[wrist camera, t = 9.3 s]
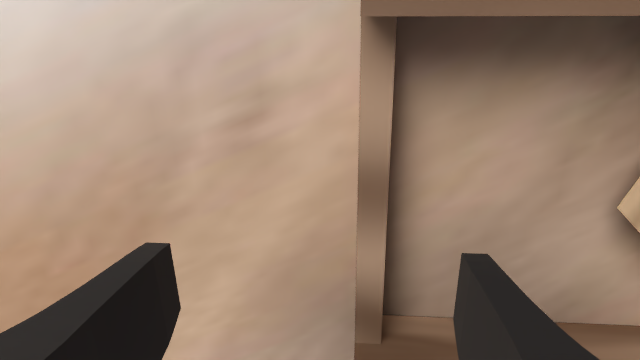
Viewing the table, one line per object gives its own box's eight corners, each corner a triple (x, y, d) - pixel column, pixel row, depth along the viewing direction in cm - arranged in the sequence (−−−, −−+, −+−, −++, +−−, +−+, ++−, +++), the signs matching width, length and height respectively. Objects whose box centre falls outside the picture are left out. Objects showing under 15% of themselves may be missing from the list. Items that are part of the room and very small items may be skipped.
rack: (644, 342, 25) (697, 422, 21) (355, 329, 26) (353, 402, 22) (775, -37, 18) (896, -25, 14) (362, -33, 19) (361, -21, 15)
